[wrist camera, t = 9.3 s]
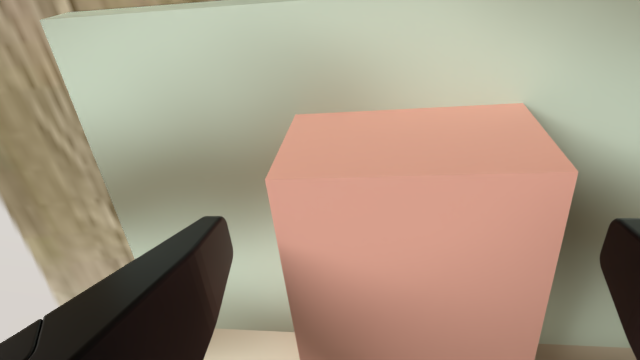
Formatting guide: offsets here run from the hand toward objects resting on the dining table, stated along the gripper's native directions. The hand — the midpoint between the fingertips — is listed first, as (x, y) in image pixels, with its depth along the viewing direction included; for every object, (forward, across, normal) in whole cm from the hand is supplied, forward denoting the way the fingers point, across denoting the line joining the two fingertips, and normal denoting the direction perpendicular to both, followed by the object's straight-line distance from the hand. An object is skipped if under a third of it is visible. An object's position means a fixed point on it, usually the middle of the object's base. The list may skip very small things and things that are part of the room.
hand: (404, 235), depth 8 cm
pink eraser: (+2, 0, +3) cm, 4 cm away
